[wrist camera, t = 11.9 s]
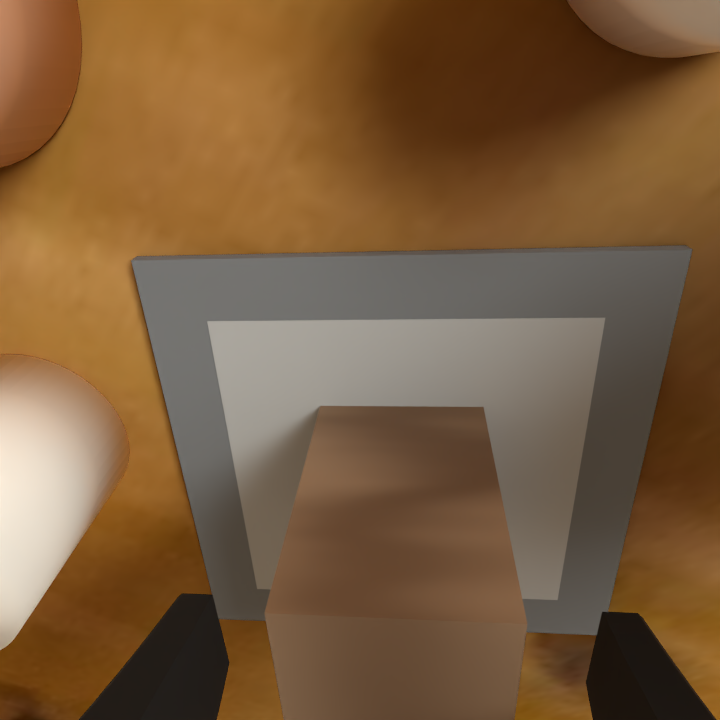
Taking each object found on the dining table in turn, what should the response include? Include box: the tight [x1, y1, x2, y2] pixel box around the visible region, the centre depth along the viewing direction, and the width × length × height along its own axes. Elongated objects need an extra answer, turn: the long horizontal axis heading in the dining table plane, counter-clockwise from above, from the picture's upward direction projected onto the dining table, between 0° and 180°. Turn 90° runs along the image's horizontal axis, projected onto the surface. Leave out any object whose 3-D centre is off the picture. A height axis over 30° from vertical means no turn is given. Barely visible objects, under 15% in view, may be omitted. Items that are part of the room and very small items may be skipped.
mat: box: [131, 245, 692, 635], centre depth 15 cm, size 12×12×1 cm
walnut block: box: [264, 406, 527, 720], centre depth 12 cm, size 4×4×6 cm
